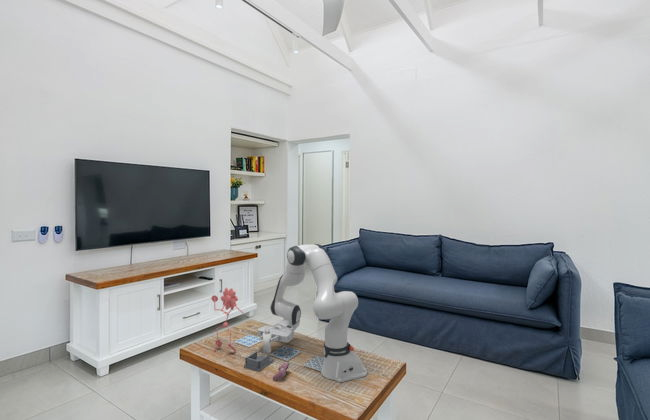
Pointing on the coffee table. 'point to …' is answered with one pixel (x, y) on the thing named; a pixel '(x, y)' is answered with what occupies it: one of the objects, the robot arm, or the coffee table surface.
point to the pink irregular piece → (281, 371)
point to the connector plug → (266, 341)
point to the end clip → (257, 362)
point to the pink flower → (228, 302)
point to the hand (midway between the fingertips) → (266, 339)
